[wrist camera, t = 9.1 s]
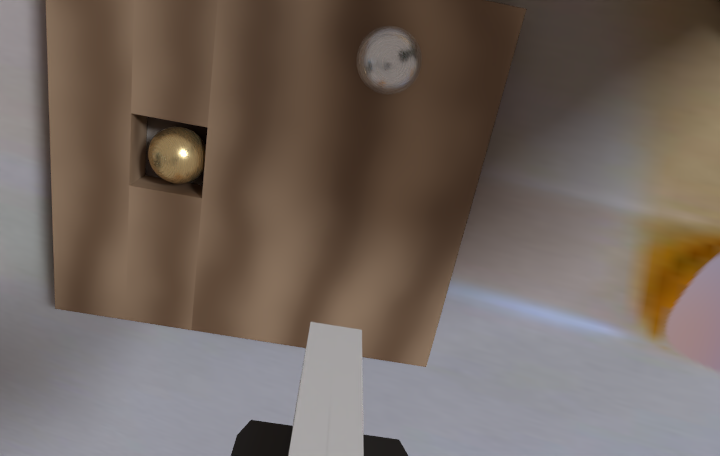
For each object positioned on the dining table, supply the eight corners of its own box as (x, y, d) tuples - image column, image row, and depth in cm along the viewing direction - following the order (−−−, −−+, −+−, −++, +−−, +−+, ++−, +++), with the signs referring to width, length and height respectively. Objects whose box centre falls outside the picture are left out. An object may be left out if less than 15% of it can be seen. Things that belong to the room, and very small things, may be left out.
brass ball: (181, 170, 34) (134, 177, 31) (184, 119, 33) (136, 121, 30) (217, 186, 33) (171, 194, 30) (221, 133, 31) (175, 136, 29)
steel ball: (351, 84, 29) (350, 91, 26) (362, 20, 28) (363, 18, 25) (410, 96, 29) (417, 103, 26) (424, 33, 28) (432, 33, 25)
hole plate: (74, 291, 37) (55, 308, 34) (68, -82, 28) (42, -93, 26) (422, 346, 39) (426, 366, 36) (513, 11, 30) (526, 9, 28)
